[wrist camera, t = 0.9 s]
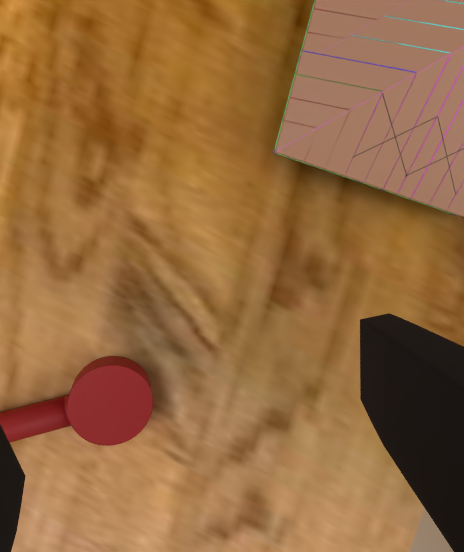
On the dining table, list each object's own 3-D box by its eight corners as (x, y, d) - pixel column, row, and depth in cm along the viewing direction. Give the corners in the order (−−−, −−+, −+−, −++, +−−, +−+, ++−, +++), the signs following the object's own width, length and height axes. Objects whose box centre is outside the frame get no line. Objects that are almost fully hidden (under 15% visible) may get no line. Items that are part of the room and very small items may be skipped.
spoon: (142, 347, 25) (143, 355, 24) (158, 419, 26) (160, 432, 24) (-163, 422, 22) (-187, 438, 20) (-136, 502, 23) (-158, 524, 21)
